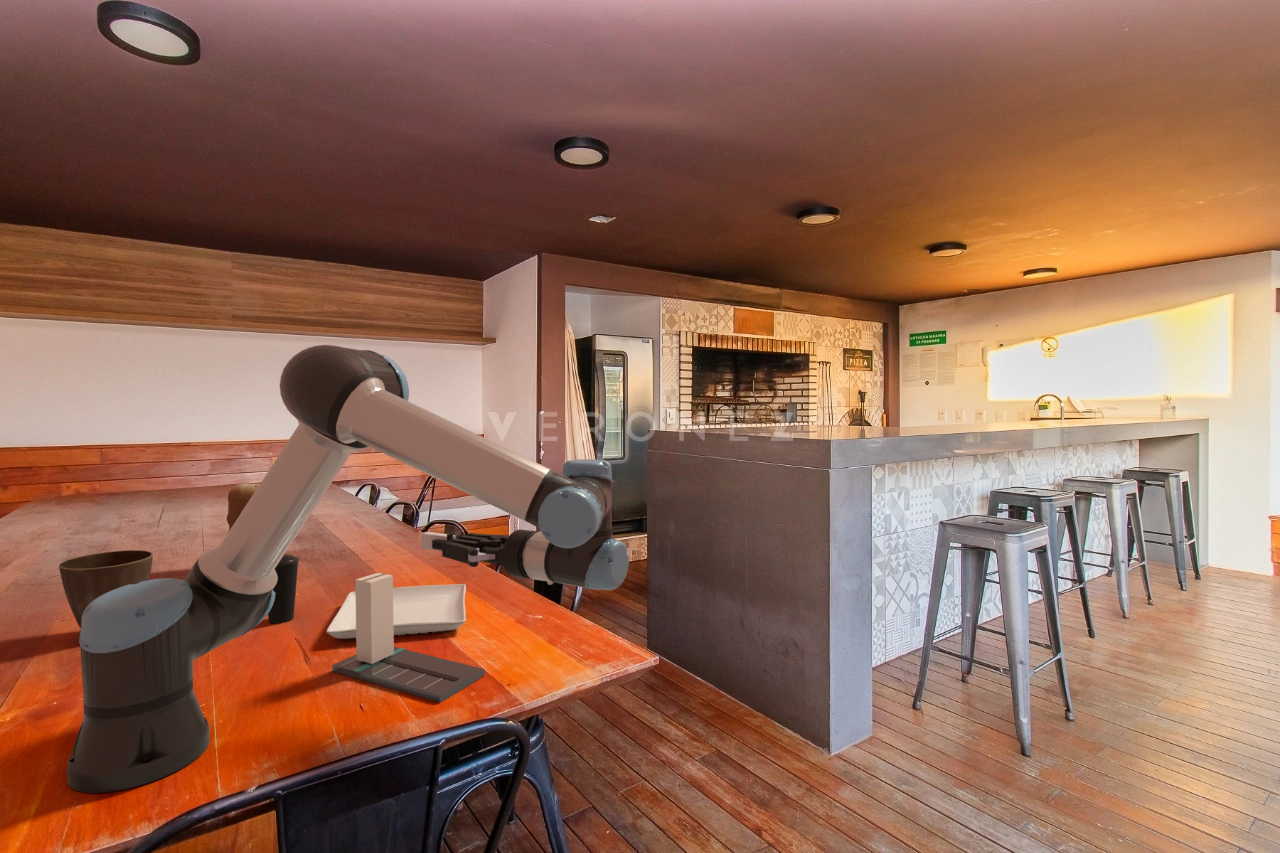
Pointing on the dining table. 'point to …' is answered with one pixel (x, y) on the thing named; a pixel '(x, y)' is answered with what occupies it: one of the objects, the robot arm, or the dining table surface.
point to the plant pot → (102, 575)
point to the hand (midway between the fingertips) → (424, 540)
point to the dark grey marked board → (413, 673)
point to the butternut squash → (239, 501)
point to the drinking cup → (284, 590)
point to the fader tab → (374, 617)
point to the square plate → (411, 611)
